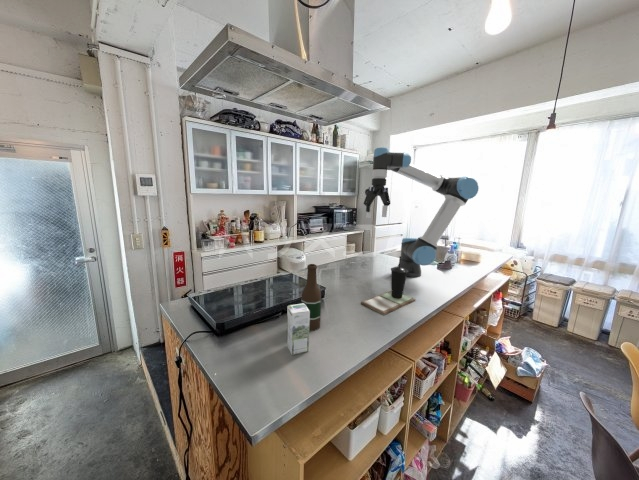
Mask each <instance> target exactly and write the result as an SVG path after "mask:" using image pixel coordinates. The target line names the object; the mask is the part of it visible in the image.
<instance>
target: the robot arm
mask: <svg viewBox="0 0 639 480" xmlns="http://www.w3.org/2000/svg"><path fill="white" fill-rule="evenodd" d="M372 157H373V158H372V179H371V185H372V186H369V187H368V190H367V193H366V195H365V198H364V201H363V205H364V206H365V212H366V215H365V219H371V218H372V210H373V209H372V208H373V207H372V204H373V202H374V200H375V199H376V197H378V196H379V197H380V199H381V202H382V209H381V218H387V214H388V206H390V204H391V200H390V199H391V198H390V194H389V188H388V187H386V186H387V179H386V178H387V177H388V175H387V174H388V171H392V172H394V173H397V174H399V175H402V176H404V177H405V178H408V179H410V180H412V181H415V182H417V183H419V184H422V185H424V186H426V187H429V188H431V189H432V191H434V192H435V193H438V194H440V195H442V196H444V201H443V203H442V205H441V206H440V207H439V209H438V211H437V212H436V214H435V216H434V217H433V219H432V220H431V222H430V223H429V225H428V226H427V228H426V230H425V231H424V233H423V234H422V236H419V237H404V238H402V240H401V247H400V256H401V264H400V267H403V268H405V269H407V270H408V272H407V274H406V278H407V277H408V278H418V277H421V276H422V268H421V266H430V265H431V264H432V263H433V262H434V261H435V260H436V258H437V252H436V251H437V249H438V243H439V241H440V240H441V238H442V236H443V235H444V233H445V231H446V230H447V228H448V227H449V226H450V223H451V222H452V221H453V218H455V216H456V214H458V211H459V209H460V208H461V207H463V206H465V205H466V204H467V202H468V200H471V199H473V198H474V197H476V196H477V194H478V193H479V189H480V187H479V184H478V181H477V180H476V179H475V178H474V177H472V176H461V177H447V176H444V175H442V174H440V175H438V174H435V173H432V172H430V171H428V170H426V169H423V168H421V167H419V166H416V165H414V164H412V163H411V162H412V156H411V153H408V152H390V151H389V148H388V147H384V146H383V147H375V149H374V151H373V156H372ZM397 266H399V263H398V264H397Z"/></svg>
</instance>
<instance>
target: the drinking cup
mask: <svg viewBox="0 0 639 480" xmlns="http://www.w3.org/2000/svg"><path fill="white" fill-rule="evenodd" d="M398 261H399V262H398V264H399V266H398V265H397V266H393V267H391V268H390V271H391V272H390V273H391V274H390V275H391V276H390V277H391V283H390V284H391V285H390V286H391V289H390V290H391V291H392V297H393V298H397V299H400V298H402V294H404V289H405V284H406V279H407V276H406V274H407V272H408V270H407V269H405V268H403V267H400V264H401V255H400V256H399V260H398Z"/></svg>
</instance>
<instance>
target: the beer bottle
mask: <svg viewBox="0 0 639 480" xmlns="http://www.w3.org/2000/svg"><path fill="white" fill-rule="evenodd" d="M317 267H318V266H317V264H314V263H310V264H307V267H306V269H307V275H306V285H305V286H304V287H303V290H302V293H301V297H300V298H301V299H300V301H301V302H300V304H302V303H304V304H305V305H306V306H307V308H308V309H309V311H310V323H309V331H315V330H316V331H317V330H319V329H320V328H321V316H322V315H321V313H322V311H321V310H322V307H321V306H322V291H321V289H320V287H319V285H318V283H317V269H318V268H317Z"/></svg>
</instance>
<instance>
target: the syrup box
mask: <svg viewBox="0 0 639 480" xmlns="http://www.w3.org/2000/svg"><path fill="white" fill-rule="evenodd" d="M286 309H287V310H286V311H287V313H286V314H287V315H286V316H287V317H286V318H287V320H286V322H287V324H286V327H287V328H286V346H287V348H288V350H289V352H290V354H291V356H295V355H299V354H304V353H307V352H309V349H310V348H309V346H310V344H309V343H310V330H309V323H310V311H309V309H308V308H307V306H306V305H305V304H304V303H302V304H301V303H297V304H288V305H287V308H286Z"/></svg>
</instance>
